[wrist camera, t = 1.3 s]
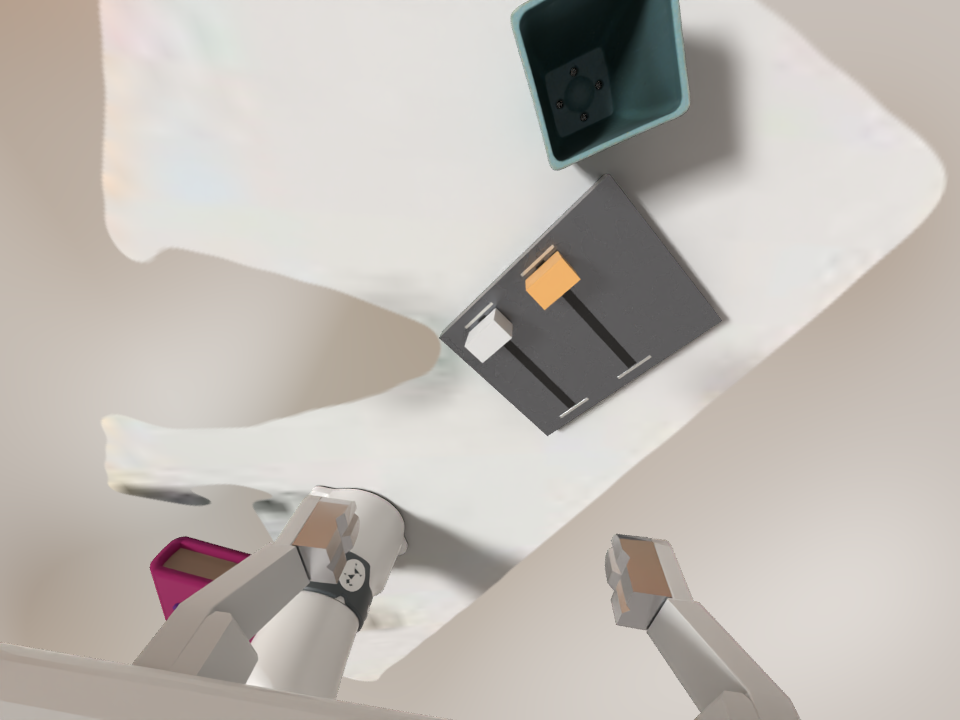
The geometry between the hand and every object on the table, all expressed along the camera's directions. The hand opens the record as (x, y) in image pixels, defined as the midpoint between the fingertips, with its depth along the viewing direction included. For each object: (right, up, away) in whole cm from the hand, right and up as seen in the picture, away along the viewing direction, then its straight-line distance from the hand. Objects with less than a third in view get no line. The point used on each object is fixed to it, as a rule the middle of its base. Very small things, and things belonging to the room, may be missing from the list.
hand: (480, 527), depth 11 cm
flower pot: (+8, +27, +17) cm, 33 cm away
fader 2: (+7, +13, +22) cm, 26 cm away
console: (+10, +9, +26) cm, 29 cm away
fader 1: (+1, +9, +25) cm, 26 cm away
